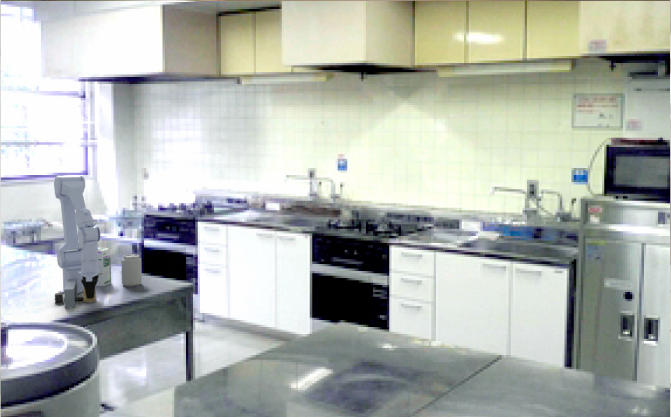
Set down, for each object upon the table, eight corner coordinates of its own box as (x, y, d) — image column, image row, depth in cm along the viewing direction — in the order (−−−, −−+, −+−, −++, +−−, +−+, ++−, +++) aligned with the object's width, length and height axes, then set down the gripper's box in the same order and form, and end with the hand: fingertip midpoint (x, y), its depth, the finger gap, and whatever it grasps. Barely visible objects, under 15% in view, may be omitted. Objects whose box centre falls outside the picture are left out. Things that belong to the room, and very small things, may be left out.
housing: (64, 308, 229) (64, 289, 228) (68, 296, 245) (68, 278, 244) (74, 307, 230) (73, 289, 229) (77, 296, 246) (77, 278, 245)
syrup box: (103, 286, 261) (102, 250, 259) (90, 285, 262) (89, 249, 261) (111, 283, 267) (110, 247, 265) (98, 282, 268) (97, 247, 266)
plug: (54, 304, 234) (54, 290, 234) (56, 301, 238) (55, 287, 237) (95, 301, 238) (95, 288, 238) (96, 299, 242) (95, 285, 241)
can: (117, 285, 263) (117, 256, 261) (130, 282, 270) (129, 252, 268) (133, 287, 260) (132, 257, 259) (145, 283, 267) (145, 254, 266)
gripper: (79, 256, 243) (80, 292, 245) (76, 264, 230) (77, 302, 231) (99, 255, 246) (100, 291, 247) (97, 263, 232) (98, 301, 233)
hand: (90, 296), depth 239 cm, fingers closed on plug, 4 cm apart
